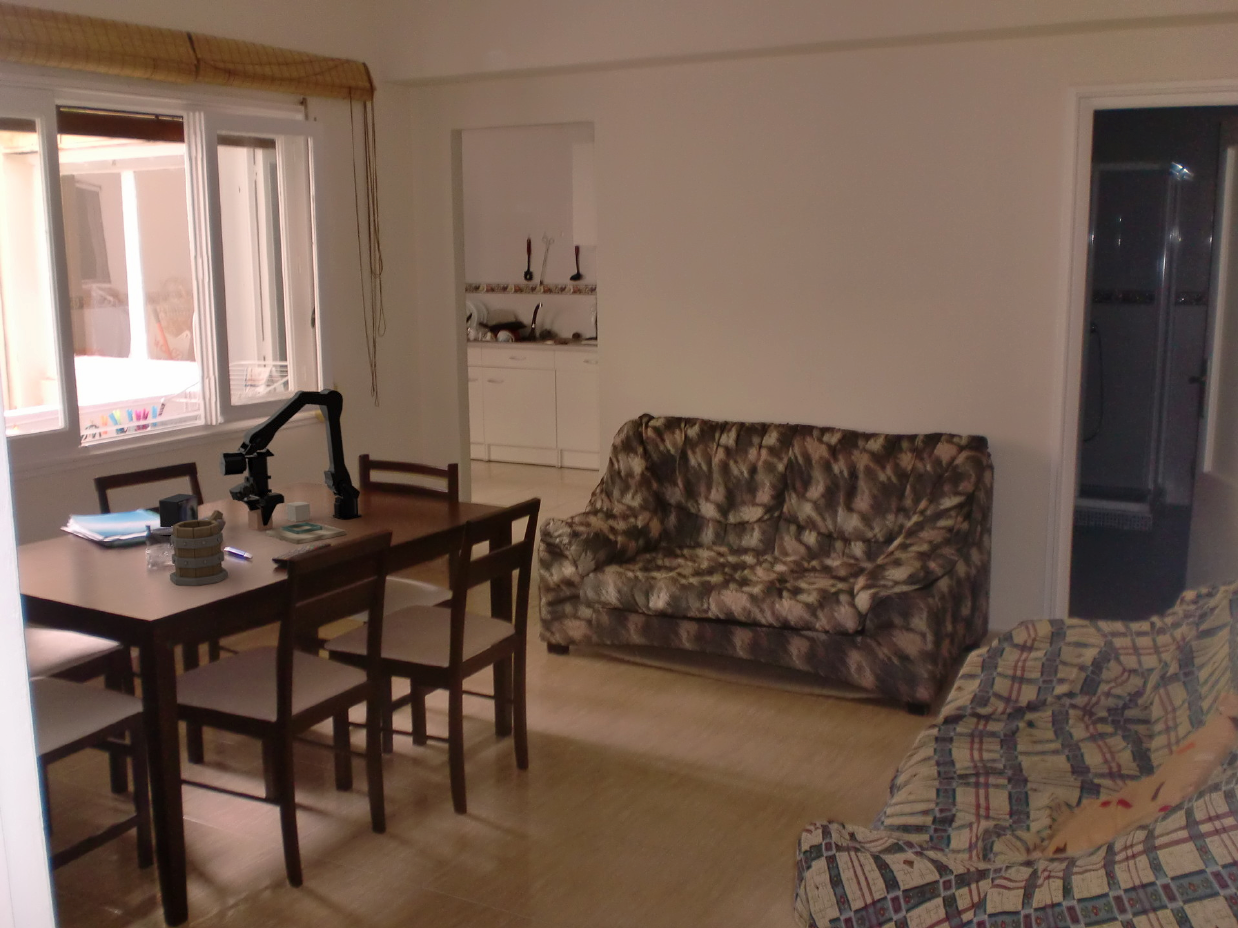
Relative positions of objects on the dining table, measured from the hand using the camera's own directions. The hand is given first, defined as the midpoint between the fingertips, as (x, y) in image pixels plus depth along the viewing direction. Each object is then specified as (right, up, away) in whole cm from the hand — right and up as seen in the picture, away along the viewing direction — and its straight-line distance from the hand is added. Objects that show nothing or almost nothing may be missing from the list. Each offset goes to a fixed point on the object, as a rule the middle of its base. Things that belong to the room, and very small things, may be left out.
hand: (260, 524), depth 341 cm
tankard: (+3, -10, -52) cm, 53 cm away
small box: (-22, -2, -5) cm, 23 cm away
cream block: (+8, +1, +12) cm, 14 cm away
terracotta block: (0, -1, 0) cm, 1 cm away
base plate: (+16, -3, -9) cm, 18 cm away
